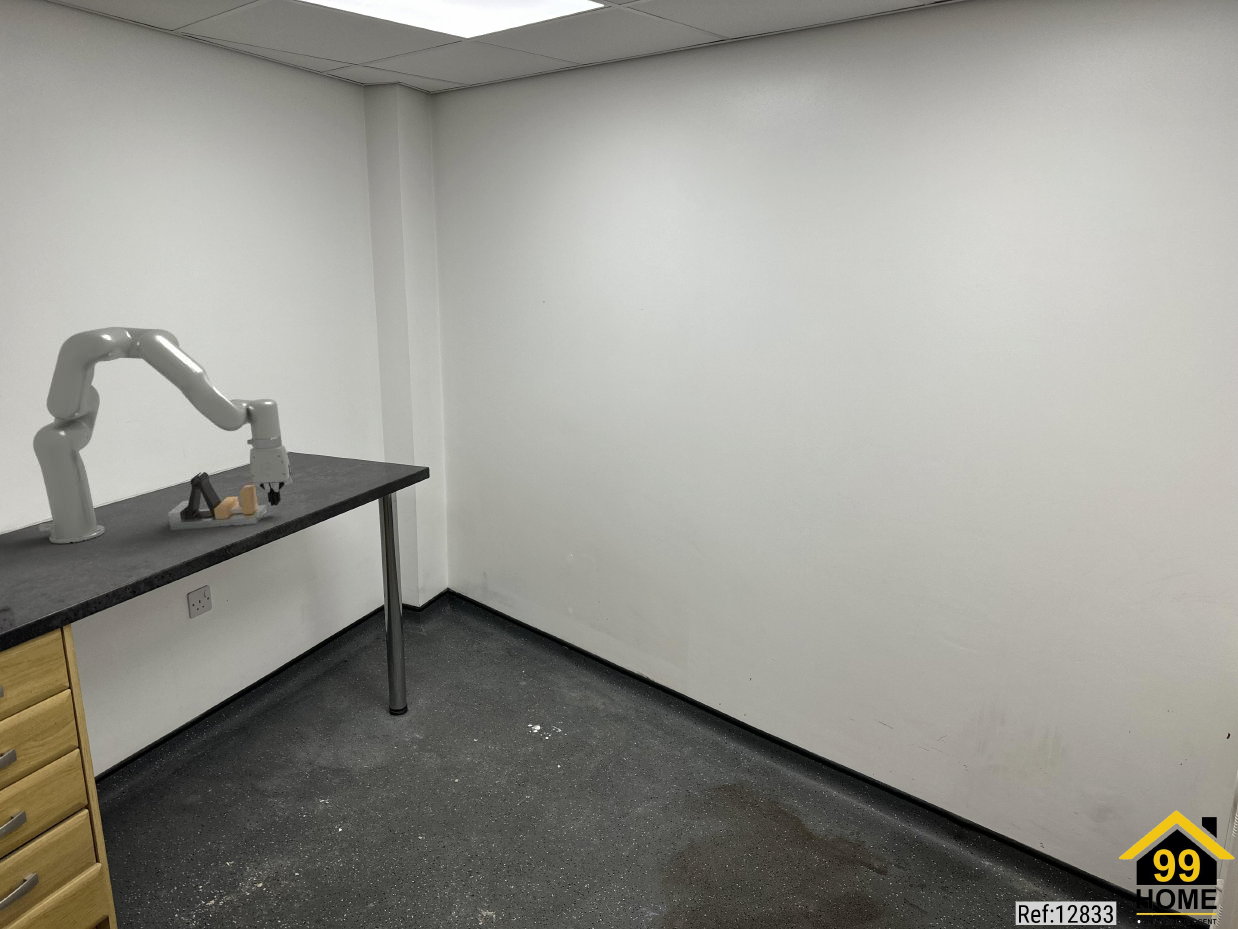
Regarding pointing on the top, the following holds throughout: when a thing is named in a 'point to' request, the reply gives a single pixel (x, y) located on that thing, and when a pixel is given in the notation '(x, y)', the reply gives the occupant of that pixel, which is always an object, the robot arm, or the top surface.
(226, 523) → the grey base plate
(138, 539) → the top surface
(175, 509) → the fixed jaw
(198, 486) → the black triangular frame
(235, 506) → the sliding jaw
